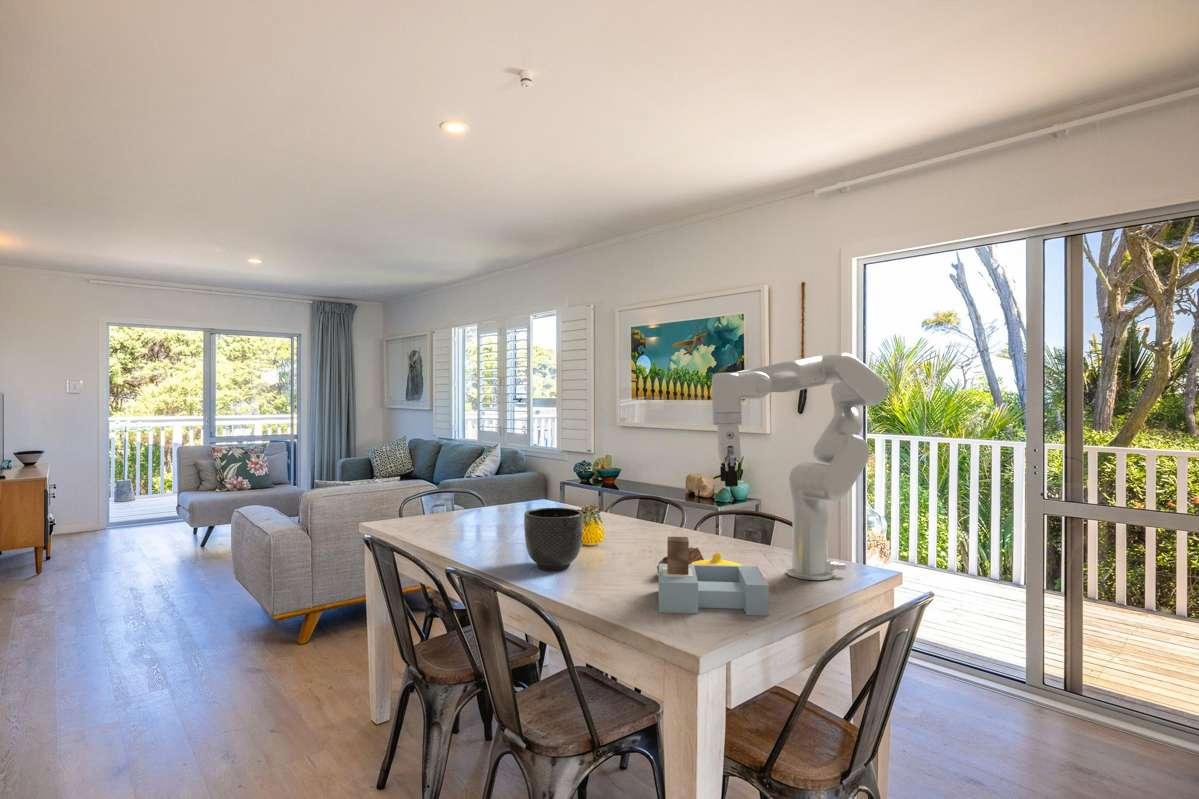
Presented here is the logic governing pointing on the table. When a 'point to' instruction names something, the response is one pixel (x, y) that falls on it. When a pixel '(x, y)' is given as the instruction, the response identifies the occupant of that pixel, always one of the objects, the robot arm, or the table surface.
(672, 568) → the walnut block
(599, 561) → the table surface
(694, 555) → the driftwood
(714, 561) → the yellow piece
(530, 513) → the planter
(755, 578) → the slot box
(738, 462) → the robot arm
